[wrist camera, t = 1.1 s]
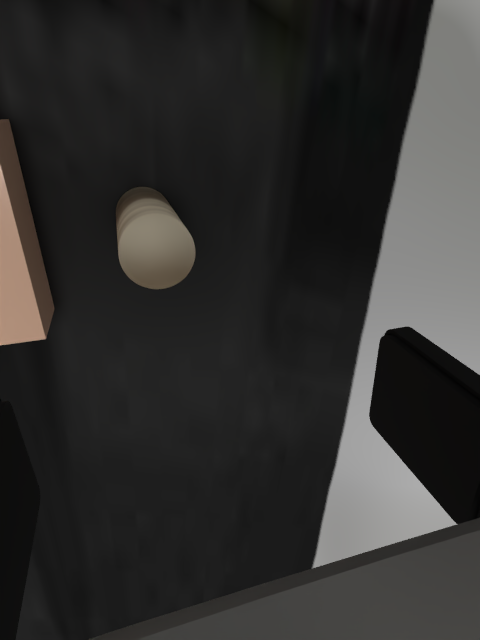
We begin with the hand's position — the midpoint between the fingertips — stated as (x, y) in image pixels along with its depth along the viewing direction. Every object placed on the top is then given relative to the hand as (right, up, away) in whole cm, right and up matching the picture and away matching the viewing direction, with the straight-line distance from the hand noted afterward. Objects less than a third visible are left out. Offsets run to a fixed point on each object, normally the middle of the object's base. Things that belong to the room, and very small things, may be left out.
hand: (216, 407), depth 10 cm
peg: (-6, +10, +20) cm, 23 cm away
